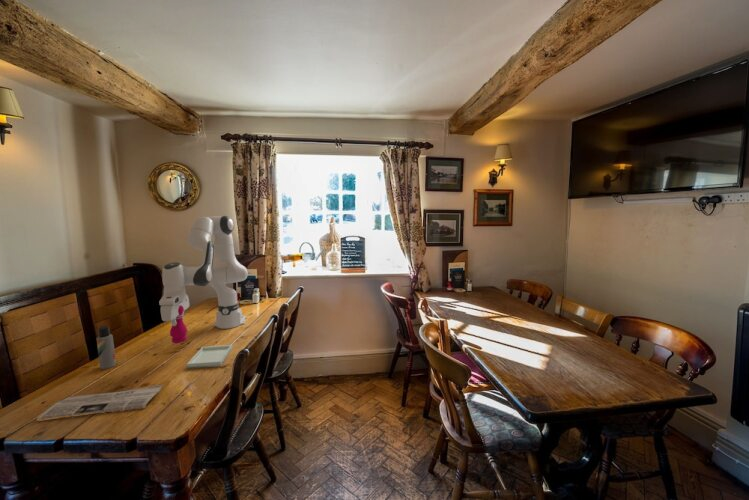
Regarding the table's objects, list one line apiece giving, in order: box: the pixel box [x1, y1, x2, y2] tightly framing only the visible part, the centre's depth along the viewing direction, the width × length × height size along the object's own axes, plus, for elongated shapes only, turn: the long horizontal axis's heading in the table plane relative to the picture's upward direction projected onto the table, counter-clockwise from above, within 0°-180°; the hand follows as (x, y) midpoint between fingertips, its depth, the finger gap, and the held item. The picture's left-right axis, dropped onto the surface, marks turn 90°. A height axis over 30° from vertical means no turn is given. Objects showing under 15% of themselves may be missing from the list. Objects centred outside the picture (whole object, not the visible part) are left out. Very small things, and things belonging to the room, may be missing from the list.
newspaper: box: [36, 384, 164, 420], centre depth 113 cm, size 35×12×4 cm, turn 103°
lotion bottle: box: [96, 325, 117, 370], centre depth 139 cm, size 6×6×20 cm
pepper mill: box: [169, 305, 188, 344], centre depth 146 cm, size 7×7×20 cm
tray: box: [186, 344, 233, 370], centre depth 148 cm, size 18×15×2 cm
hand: (177, 322), depth 146 cm, fingers closed on pepper mill, 5 cm apart
